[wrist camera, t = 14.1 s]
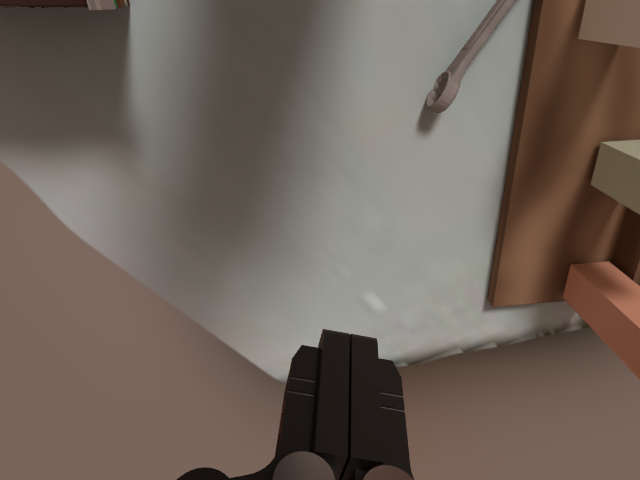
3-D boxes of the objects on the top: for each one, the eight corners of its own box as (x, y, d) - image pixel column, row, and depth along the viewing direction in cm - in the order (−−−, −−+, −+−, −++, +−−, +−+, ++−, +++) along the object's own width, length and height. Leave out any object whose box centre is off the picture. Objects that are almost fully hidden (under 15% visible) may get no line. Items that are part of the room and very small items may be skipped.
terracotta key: (562, 297, 43) (646, 386, 33) (570, 264, 41) (661, 348, 31) (599, 294, 43) (693, 381, 33) (609, 261, 41) (710, 343, 32)
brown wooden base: (487, 299, 44) (508, 329, 40) (538, -30, 31) (576, -33, 27) (622, 288, 45) (656, 316, 41) (726, -38, 32) (789, -43, 28)
